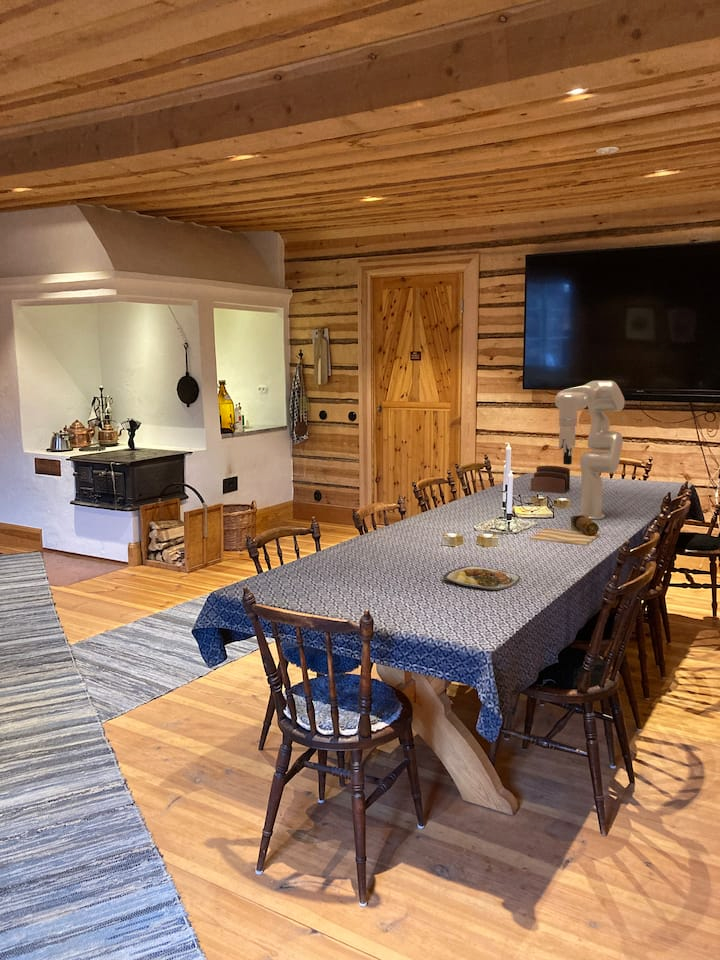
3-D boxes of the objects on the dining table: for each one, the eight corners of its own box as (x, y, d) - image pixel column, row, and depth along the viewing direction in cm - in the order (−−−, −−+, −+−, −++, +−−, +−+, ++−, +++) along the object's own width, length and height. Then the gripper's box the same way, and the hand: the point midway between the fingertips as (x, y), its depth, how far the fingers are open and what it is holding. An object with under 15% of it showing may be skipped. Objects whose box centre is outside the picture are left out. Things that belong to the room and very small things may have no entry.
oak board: (545, 529, 346) (545, 528, 346) (599, 535, 333) (599, 533, 333) (529, 539, 329) (529, 537, 329) (586, 545, 317) (586, 543, 317)
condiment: (589, 530, 342) (600, 536, 330) (570, 532, 341) (581, 538, 329) (588, 514, 340) (600, 519, 329) (570, 516, 339) (581, 521, 328)
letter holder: (536, 488, 452) (536, 464, 450) (569, 491, 441) (570, 466, 439) (530, 491, 444) (530, 466, 441) (564, 493, 433) (564, 469, 431)
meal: (498, 596, 256) (498, 589, 255) (433, 582, 271) (433, 575, 271) (531, 578, 275) (531, 571, 275) (469, 566, 290) (469, 559, 290)
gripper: (564, 420, 345) (564, 460, 349) (554, 424, 333) (554, 466, 336) (581, 420, 341) (580, 461, 345) (571, 425, 329) (571, 467, 332)
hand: (567, 464), depth 340 cm, fingers closed
